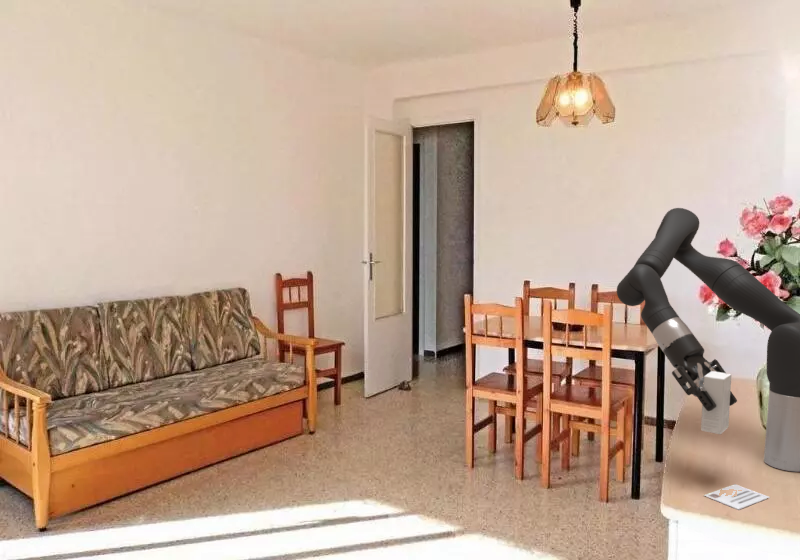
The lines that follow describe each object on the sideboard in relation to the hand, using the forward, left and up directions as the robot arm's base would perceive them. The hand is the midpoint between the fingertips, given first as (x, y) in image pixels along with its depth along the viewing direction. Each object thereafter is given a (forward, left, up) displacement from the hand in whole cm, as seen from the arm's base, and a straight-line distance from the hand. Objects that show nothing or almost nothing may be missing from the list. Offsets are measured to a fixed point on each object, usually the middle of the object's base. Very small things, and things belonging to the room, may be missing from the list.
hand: (722, 406), depth 144 cm
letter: (+3, +6, -17) cm, 18 cm away
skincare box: (0, -2, -6) cm, 6 cm away
